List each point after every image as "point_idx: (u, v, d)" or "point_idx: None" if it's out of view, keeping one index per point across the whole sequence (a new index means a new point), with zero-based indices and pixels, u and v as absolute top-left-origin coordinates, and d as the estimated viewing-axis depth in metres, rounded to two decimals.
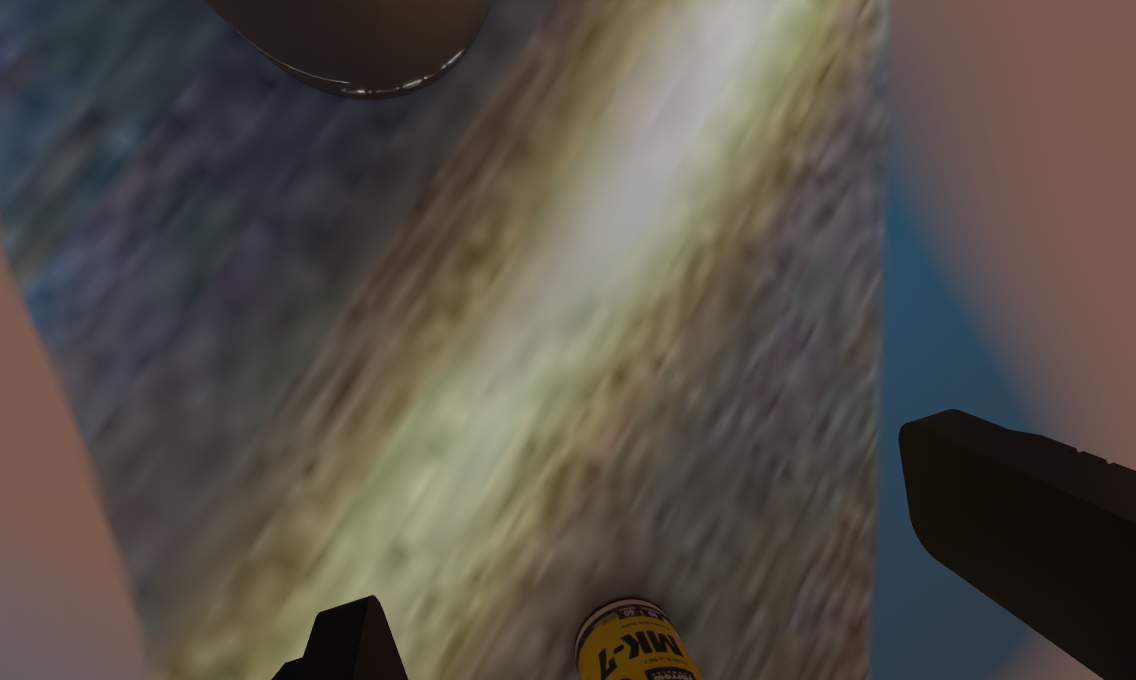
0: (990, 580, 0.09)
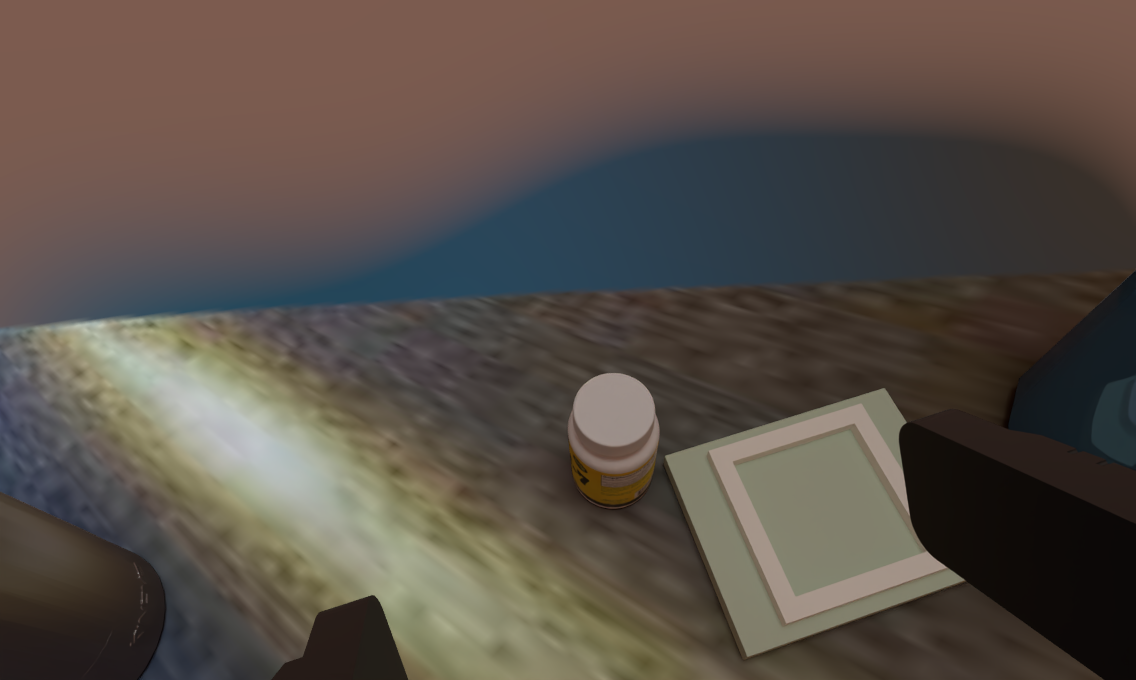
0: (990, 580, 0.09)
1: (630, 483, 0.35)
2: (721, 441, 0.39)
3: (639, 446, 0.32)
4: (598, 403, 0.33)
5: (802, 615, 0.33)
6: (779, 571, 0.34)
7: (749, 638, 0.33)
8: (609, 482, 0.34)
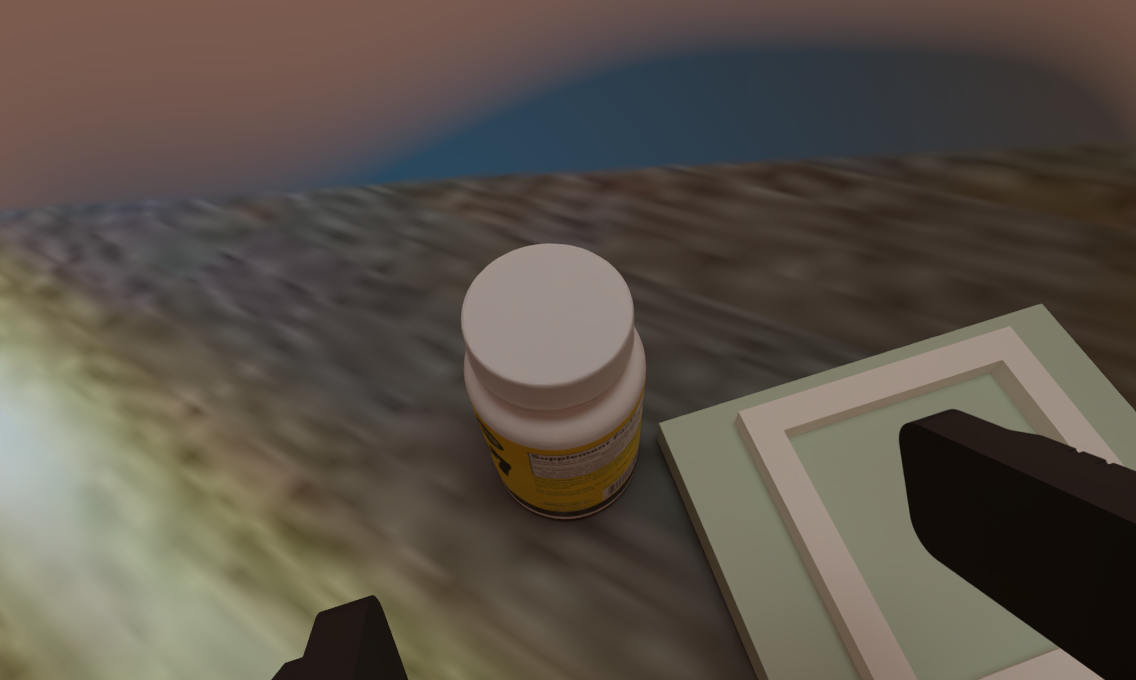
0: (990, 580, 0.09)
1: (589, 471, 0.18)
2: (760, 396, 0.22)
3: (601, 388, 0.15)
4: (513, 300, 0.15)
5: None
6: (889, 644, 0.17)
7: None
8: (547, 468, 0.17)
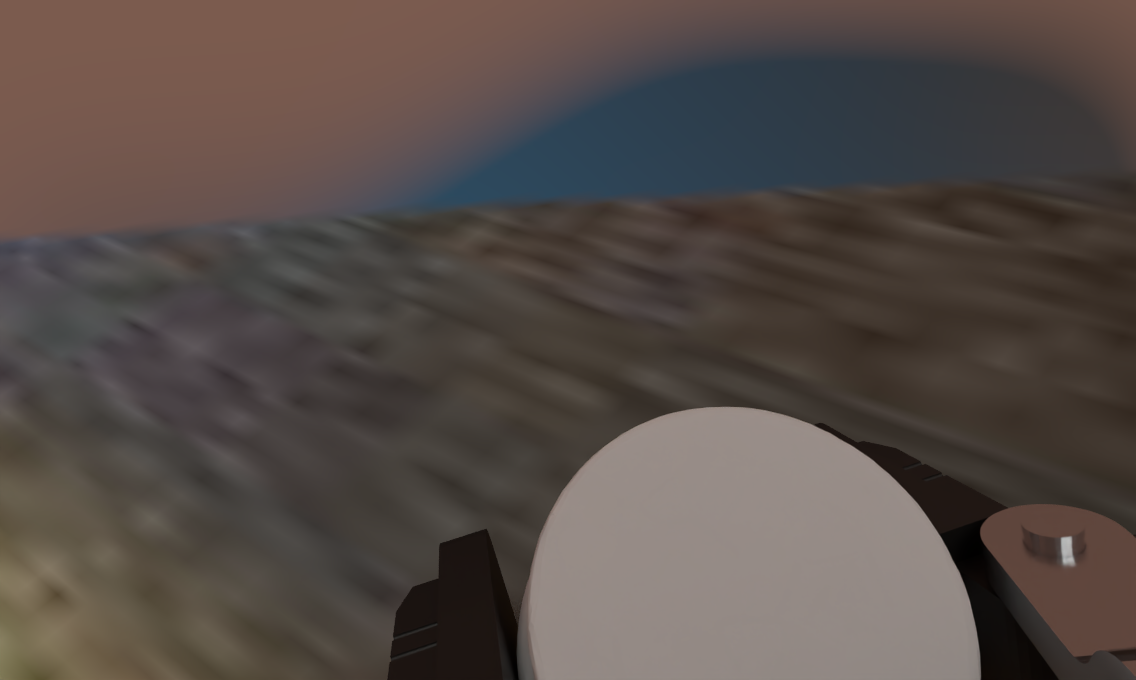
0: None
1: None
2: None
3: None
4: (658, 573, 0.06)
5: None
6: None
7: None
8: None
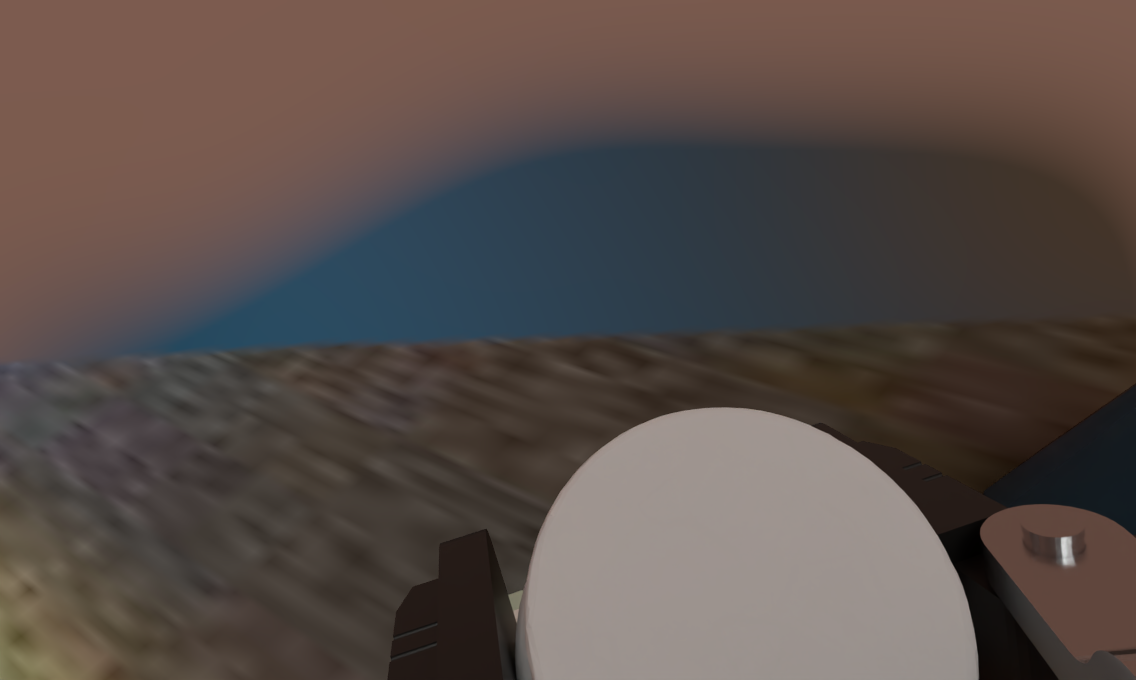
0: None
1: None
2: (517, 597, 0.25)
3: None
4: (656, 574, 0.06)
5: None
6: None
7: None
8: None
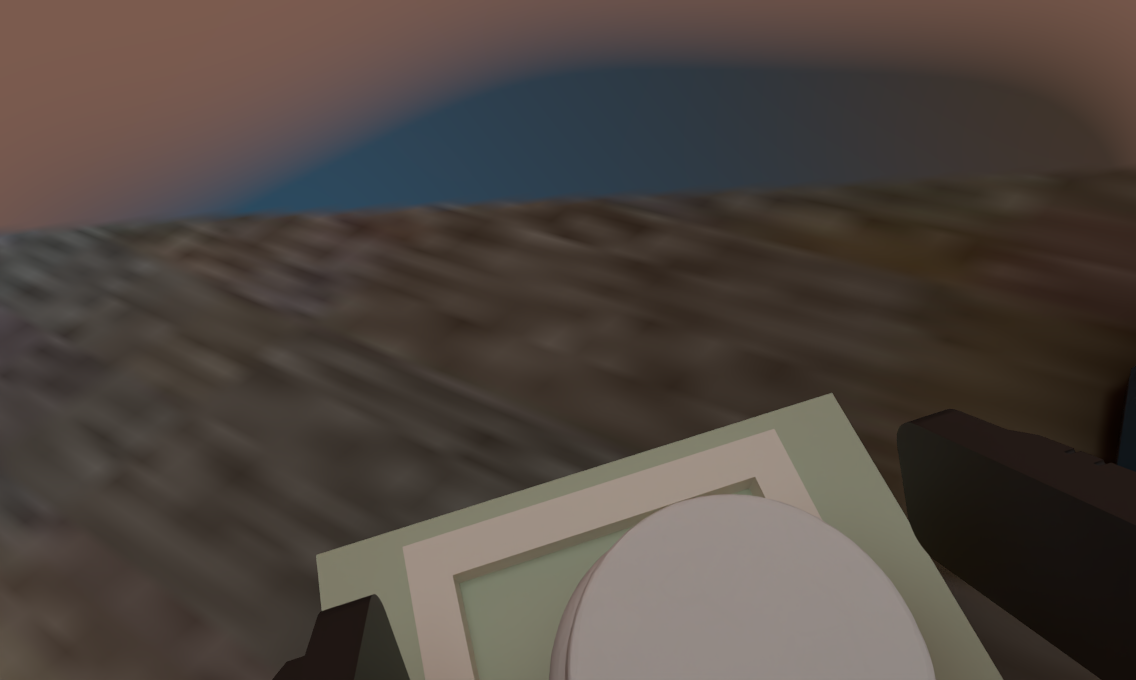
0: (988, 580, 0.09)
1: None
2: (452, 519, 0.17)
3: None
4: (677, 647, 0.07)
5: None
6: None
7: None
8: None
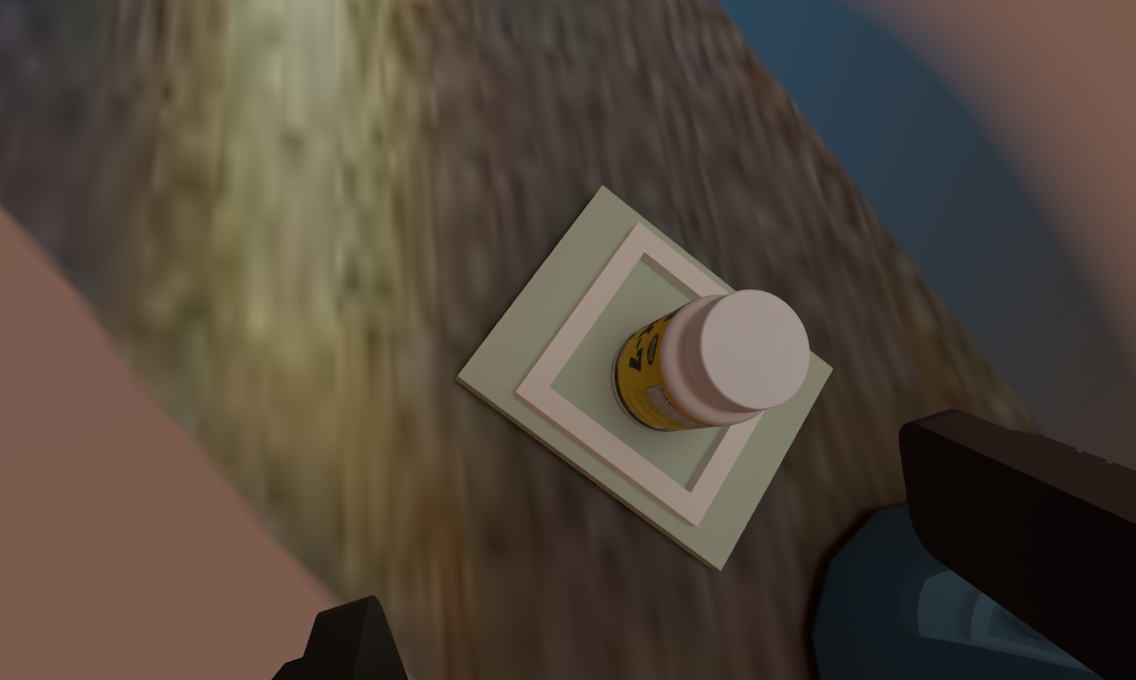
0: (990, 580, 0.09)
1: (671, 419, 0.25)
2: (658, 234, 0.31)
3: (732, 410, 0.22)
4: (748, 325, 0.22)
5: (535, 403, 0.27)
6: (563, 358, 0.28)
7: (477, 368, 0.28)
8: (657, 397, 0.25)
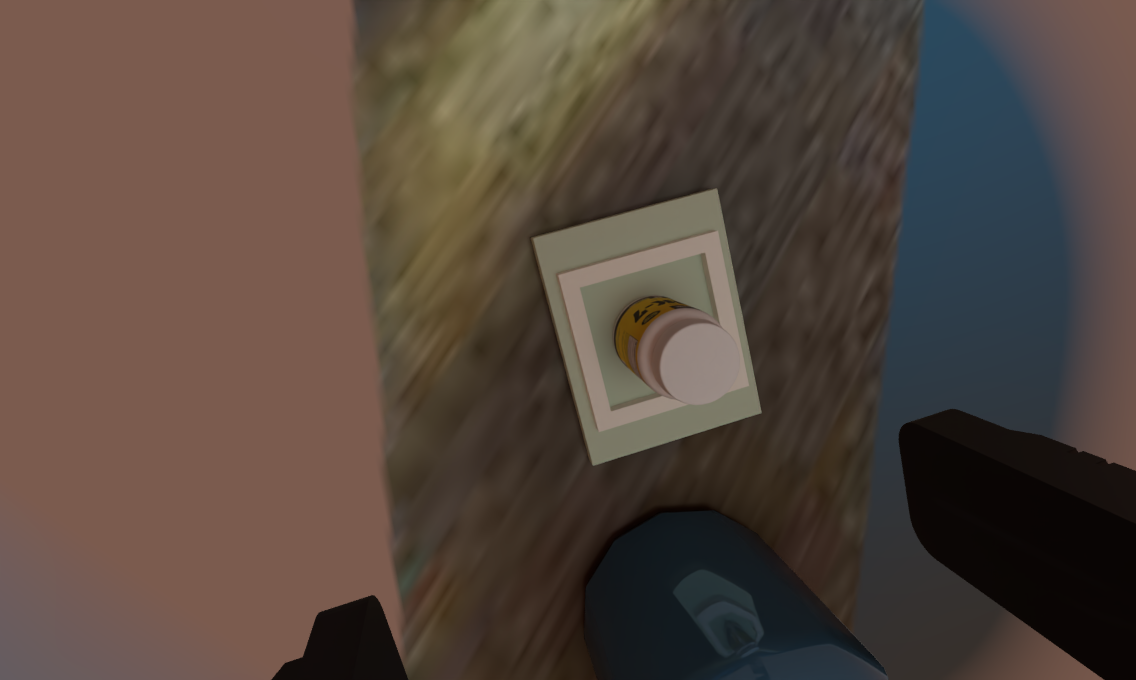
0: (990, 580, 0.09)
1: (630, 363, 0.36)
2: (725, 247, 0.39)
3: (660, 386, 0.32)
4: (706, 349, 0.31)
5: (564, 290, 0.37)
6: (601, 277, 0.38)
7: (547, 242, 0.38)
8: (631, 345, 0.35)
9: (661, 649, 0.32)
